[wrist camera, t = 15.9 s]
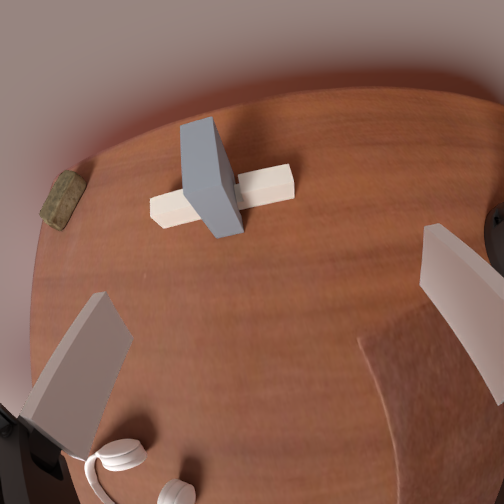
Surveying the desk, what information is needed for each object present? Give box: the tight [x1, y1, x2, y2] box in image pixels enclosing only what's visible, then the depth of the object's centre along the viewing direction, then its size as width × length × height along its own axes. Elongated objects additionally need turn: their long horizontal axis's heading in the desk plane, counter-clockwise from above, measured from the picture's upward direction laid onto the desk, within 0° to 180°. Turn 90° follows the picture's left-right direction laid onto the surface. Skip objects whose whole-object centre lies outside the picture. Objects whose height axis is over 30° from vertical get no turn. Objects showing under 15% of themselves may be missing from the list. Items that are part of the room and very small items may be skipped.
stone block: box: [40, 170, 86, 231], centre depth 44 cm, size 6×12×5 cm, turn 159°
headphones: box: [85, 439, 196, 504], centre depth 27 cm, size 7×18×20 cm
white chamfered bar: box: [150, 164, 294, 229], centre depth 38 cm, size 20×3×4 cm, turn 100°
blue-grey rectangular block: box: [180, 117, 244, 238], centre depth 34 cm, size 10×4×13 cm, turn 11°
